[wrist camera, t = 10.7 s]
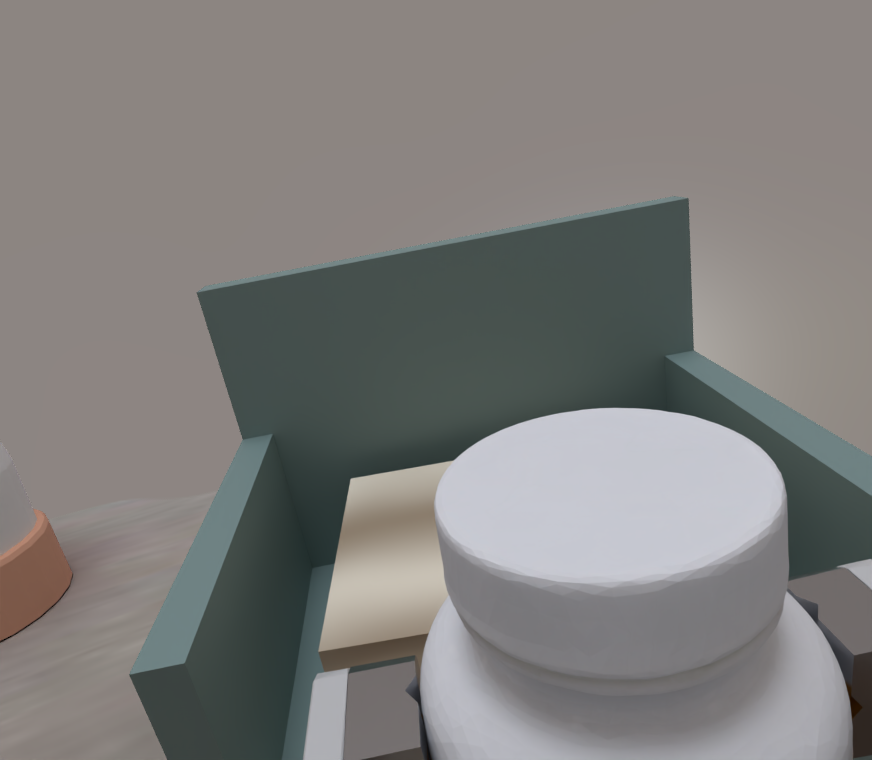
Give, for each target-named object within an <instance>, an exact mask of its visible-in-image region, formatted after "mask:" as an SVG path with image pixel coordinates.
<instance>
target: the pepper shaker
mask: <svg viewBox="0 0 872 760" xmlns="http://www.w3.org/2000/svg"><path fill="white" fill-rule="evenodd" d="M72 574H73V573H72V571H71V569H70V567H69V564H68V562H67V560H66V558H65V556H64V553H63V551H62V549H61V547H60V545H59V543H58V540H57V538H56V536H55V534H54V532H53V529H52V527H51V525H50V523H49V521H48V519H47V517H46V515H45V514H44V513H43V512H42V511H39V510H36V509H33V508H32V505H31V503H30V501H29V498H28V496H27V493H26V491H25V489H24V486H23V484H22V481H21V479H20V477H19V474H18V472H17V470H16V467H15V465H14V462H13V460H12V458H11V456H10V454H9V453H8V451H7V450H6V448H5V447H4V445H3V444H2V443H1V441H0V641H1V640H3V639H5V638H7V637H9V636H11V635H13V634H15V633H16V632H18V631H19V630H21V629H22V628H24V627H25V626H27V625H28V624H30V623H31V622H33V621H34V620H36V619H37V618H39V617H40V616H41V615H42V614H44V613H45V612H46V611H47V610H48V609H49V608H50V607H51V606H53V605H54V604H55V603H56V602H57V601H58V600H59V599H60V597H61V596H62V595H63V593H64V592H65V591H66V589H67V588H68V587H69V585H70V581H71V578H72Z"/></svg>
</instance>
